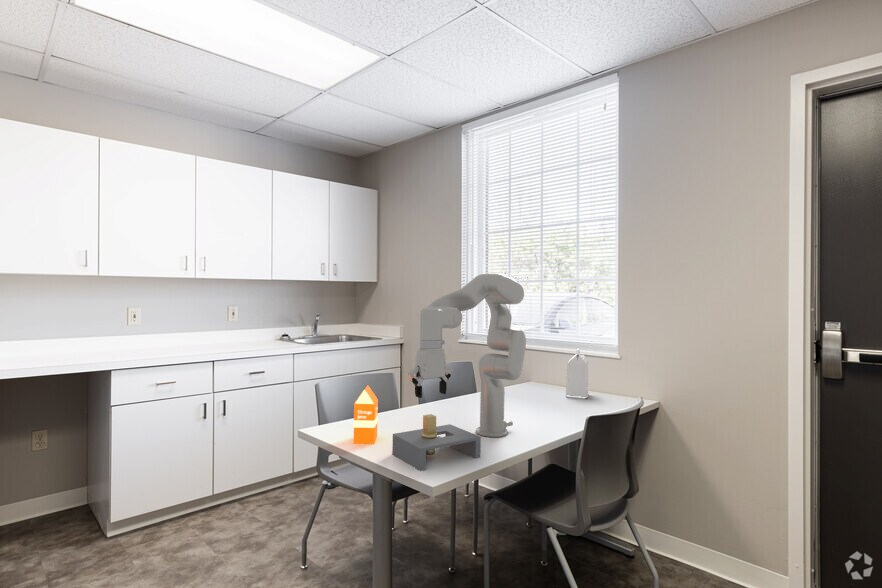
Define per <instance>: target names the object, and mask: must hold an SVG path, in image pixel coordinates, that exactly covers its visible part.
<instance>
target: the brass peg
mask: <svg viewBox="0 0 882 588" xmlns="http://www.w3.org/2000/svg"><path fill="white" fill-rule="evenodd" d="M436 427H437V415H434V414H431V413H430V414H424V415H422V429H423V433H422V437H423V438H426V439H434V438H436V437H438V435H437V433H436ZM435 453H436V449H432V450H427V451H426V456H432V455H435Z"/></svg>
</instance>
